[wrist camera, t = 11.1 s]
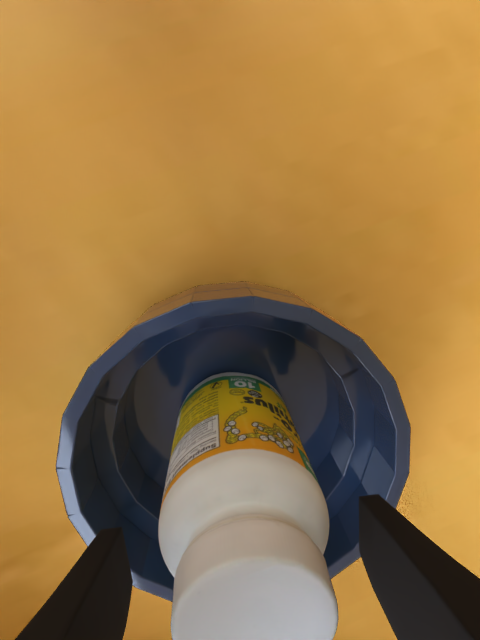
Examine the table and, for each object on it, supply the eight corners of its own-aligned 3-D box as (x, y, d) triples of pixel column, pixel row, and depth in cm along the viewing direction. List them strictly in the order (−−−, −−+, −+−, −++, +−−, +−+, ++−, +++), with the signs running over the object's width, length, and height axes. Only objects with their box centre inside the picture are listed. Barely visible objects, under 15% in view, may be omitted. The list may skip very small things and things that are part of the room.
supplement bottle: (155, 417, 17) (86, 632, 8) (237, 346, 17) (265, 486, 7) (230, 485, 18) (245, 741, 9) (308, 420, 18) (410, 623, 9)
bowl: (50, 461, 18) (-3, 534, 14) (180, 224, 16) (167, 220, 11) (274, 559, 20) (291, 648, 16) (415, 366, 18) (478, 408, 14)
